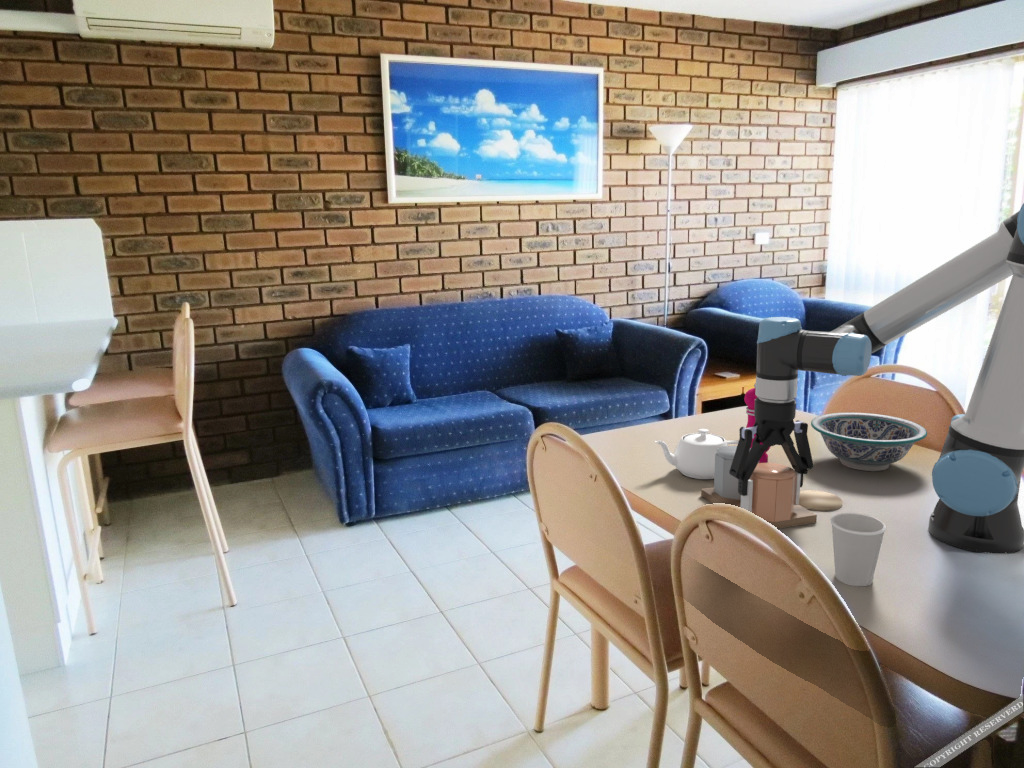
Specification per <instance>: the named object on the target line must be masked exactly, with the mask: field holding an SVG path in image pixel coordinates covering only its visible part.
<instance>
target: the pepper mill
mask: <svg viewBox="0 0 1024 768" xmlns="http://www.w3.org/2000/svg"><path fill="white" fill-rule="evenodd" d="M753 387H754V388H753ZM753 387H752V388H750V389H748V390H747V391H746V393H745V394H744V397H743V399H744V400H743V401H744V403H745V404H746V406H747V407H745V409H746V411H745V413H746V414H747V424H746V427H745V428H749V427H753V426H754V424H755V415H754V408H755V399H756V398H757V396H756V395H755V391H756V382H754V385H753ZM755 437H756V434H754V438H753V439H752V442H753V440H754V439H755ZM760 444H761V445H762V444H763V443H761V442H760ZM752 446H753V445H752V444H751V447H750V448H752ZM771 447H772V446H769V448H768V449H767V451H765V452H764V453H763V455H762V457H761V459H760V460H759V463H769V454H768V453H767V452H768V451H770V449H771Z"/></svg>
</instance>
